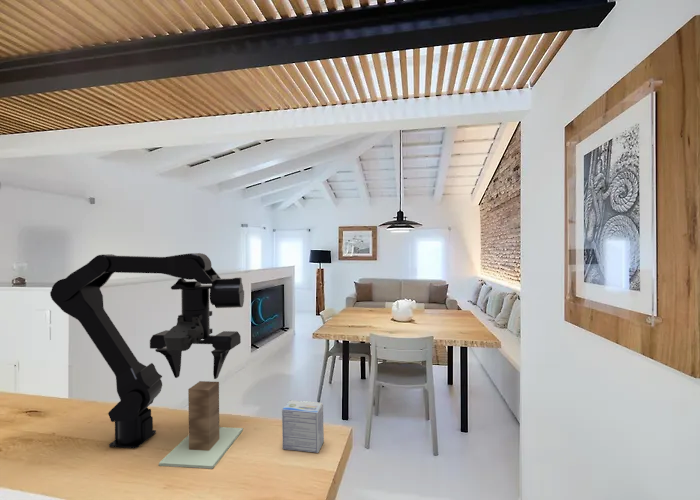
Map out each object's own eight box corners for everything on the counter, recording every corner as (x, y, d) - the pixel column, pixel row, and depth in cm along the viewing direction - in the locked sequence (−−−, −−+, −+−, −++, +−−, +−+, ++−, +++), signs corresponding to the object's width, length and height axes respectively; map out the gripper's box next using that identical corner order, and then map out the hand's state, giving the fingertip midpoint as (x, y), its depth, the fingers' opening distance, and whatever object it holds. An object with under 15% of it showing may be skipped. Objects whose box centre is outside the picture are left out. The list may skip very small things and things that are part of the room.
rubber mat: (158, 465, 67) (158, 463, 67) (197, 428, 81) (197, 426, 81) (212, 468, 66) (212, 466, 66) (242, 430, 80) (242, 428, 80)
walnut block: (188, 449, 71) (188, 389, 71) (200, 438, 76) (199, 381, 76) (209, 450, 71) (208, 390, 71) (219, 438, 75) (218, 381, 75)
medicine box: (324, 442, 74) (323, 402, 74) (318, 454, 70) (317, 411, 70) (289, 438, 76) (289, 399, 76) (281, 450, 72) (281, 408, 72)
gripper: (130, 315, 70) (131, 391, 70) (217, 316, 69) (218, 394, 69) (165, 306, 81) (166, 371, 82) (241, 306, 80) (241, 374, 80)
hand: (196, 377), depth 78 cm, fingers open, 9 cm apart
